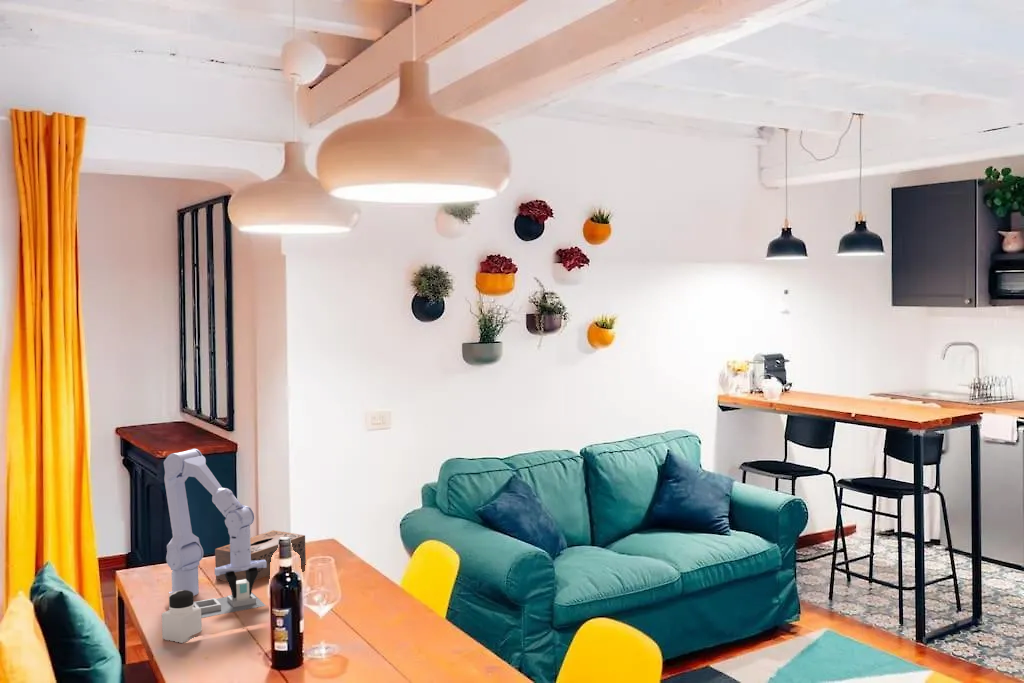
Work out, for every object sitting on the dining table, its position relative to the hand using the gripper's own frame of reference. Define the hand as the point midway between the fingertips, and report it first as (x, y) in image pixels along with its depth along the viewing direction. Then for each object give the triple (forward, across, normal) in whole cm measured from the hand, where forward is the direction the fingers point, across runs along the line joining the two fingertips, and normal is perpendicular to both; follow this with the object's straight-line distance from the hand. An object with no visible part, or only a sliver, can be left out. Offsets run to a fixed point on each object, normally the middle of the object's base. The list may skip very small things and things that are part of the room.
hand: (241, 595), depth 264 cm
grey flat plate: (+3, -5, 0) cm, 6 cm away
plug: (+2, 0, 0) cm, 2 cm away
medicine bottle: (+3, -20, -16) cm, 26 cm away
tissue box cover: (+3, +15, +30) cm, 33 cm away
